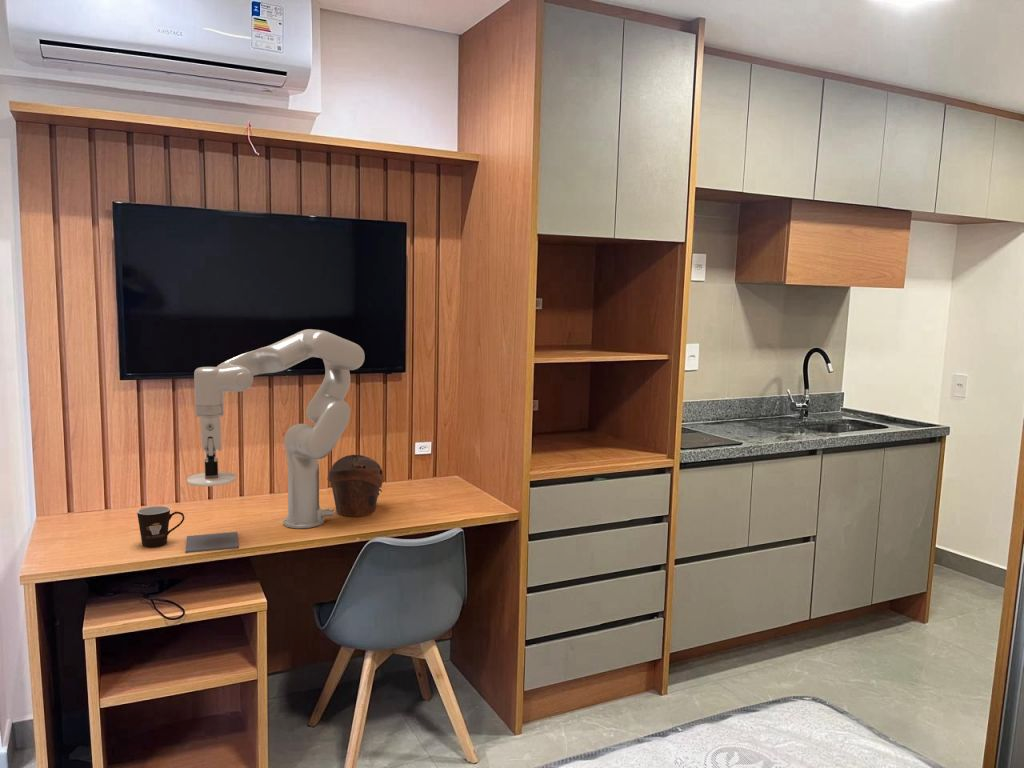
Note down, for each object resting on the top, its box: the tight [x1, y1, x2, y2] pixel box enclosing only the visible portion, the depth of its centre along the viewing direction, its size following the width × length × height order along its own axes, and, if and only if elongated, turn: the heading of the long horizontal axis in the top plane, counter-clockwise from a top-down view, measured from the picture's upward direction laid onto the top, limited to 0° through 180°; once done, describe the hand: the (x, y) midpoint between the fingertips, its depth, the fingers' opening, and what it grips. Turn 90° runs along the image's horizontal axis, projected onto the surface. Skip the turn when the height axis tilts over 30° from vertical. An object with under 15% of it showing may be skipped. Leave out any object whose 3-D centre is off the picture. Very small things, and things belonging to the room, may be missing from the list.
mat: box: [185, 531, 240, 554], centre depth 224 cm, size 14×14×1 cm
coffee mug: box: [136, 505, 185, 549], centre depth 221 cm, size 12×9×10 cm
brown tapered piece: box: [327, 454, 384, 518], centre depth 257 cm, size 18×20×18 cm
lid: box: [186, 457, 237, 487], centre depth 221 cm, size 13×13×6 cm
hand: (211, 473), depth 221 cm, fingers closed on lid, 3 cm apart
